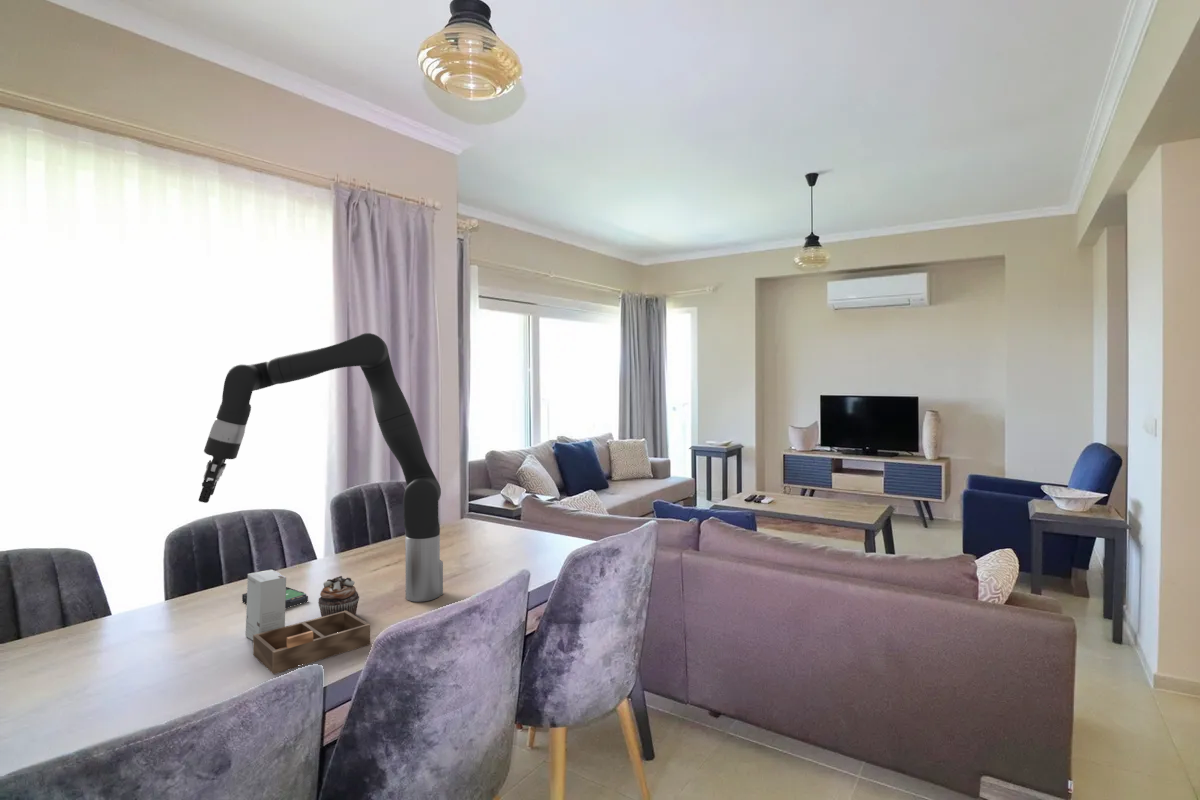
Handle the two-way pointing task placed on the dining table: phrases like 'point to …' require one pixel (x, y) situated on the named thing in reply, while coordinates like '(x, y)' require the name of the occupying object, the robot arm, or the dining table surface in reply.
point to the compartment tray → (310, 641)
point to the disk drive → (288, 597)
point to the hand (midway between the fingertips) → (205, 498)
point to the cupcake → (338, 596)
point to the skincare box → (265, 602)
